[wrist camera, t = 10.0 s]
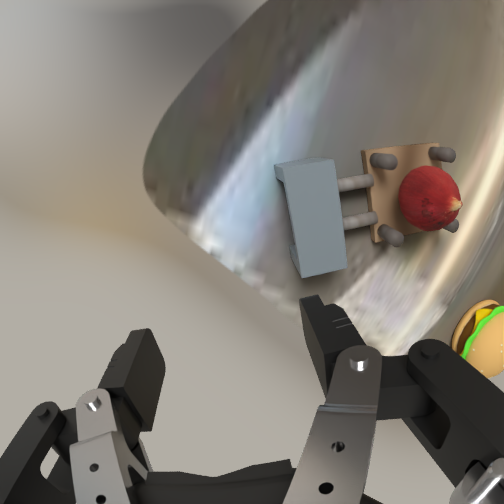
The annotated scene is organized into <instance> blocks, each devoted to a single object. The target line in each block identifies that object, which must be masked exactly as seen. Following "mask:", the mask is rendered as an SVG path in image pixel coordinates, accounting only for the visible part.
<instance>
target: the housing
mask: <svg viewBox="0 0 504 504" xmlns="http://www.w3.org/2000/svg"><path fill="white" fill-rule="evenodd" d="M274 168H275V173H276V178H278V179H279V180H281V181H282V182H283V183H284V188H285V193H286V198H287V204H288V209H289V215H290V220H291V226H292V232H293V238H294V243H295V245H291V246H289V248H290V254H291V258H292V260H293V262H294V264H295V266H296V268H297V270H298V272H299V274H300V276H301V278H306V277H310V276H315V275H319V274H323V273H328V272H332V271H336V270H340V269H344V268H347V257H346V247H345V238H344V229H343V220H342V213H341V205H340V198H339V191H338V184H337V177H336V171H335V165H334V160H333V159H326V158H319V157H315V158H309V159H303V160H297V161H292V162H286V163H281V164H276V165H274Z"/></svg>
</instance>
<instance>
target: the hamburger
mask: <svg viewBox="0 0 504 504" xmlns="http://www.w3.org/2000/svg"><path fill="white" fill-rule="evenodd" d="M452 349H453V350H454V351H455V352H456V353H458V354H459V355H460V356H461V357H462V358H464V359H465V360H466V361H467V362H468V363H470V364H471V365H472V366H473V367H474V368H476V369H477V370H478V371H479V372H480V373H482V374H483V375H484V376H485V377H486V378H491V377H493V376H496V375H498V374H499V373H501V372H502V371H503V370H504V306H500V305H499V304H498V303H497V302H496V301H494V300H484V301H481V302H479V303H477V304H475V305H474V306H472V307H471V308H470V309H469V310H468V311H467V312H466V313H465V315H464V316H463V317H462V318H461V320H460V322H459V323H458V325H457V327H456V329H455V332H454V334H453V338H452Z"/></svg>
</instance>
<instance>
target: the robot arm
mask: <svg viewBox="0 0 504 504" xmlns="http://www.w3.org/2000/svg"><path fill="white" fill-rule="evenodd" d="M299 304H300V310H301V317H302V324H303V330H304V336H305V340H306V344H307V347H308V350H309V353H310V356H311V358H312V361H313V364H314V367H315V369H316V372H317V375H318V378H319V381H320V383H321V386H322V389H323V392H324V395H325V398H326V401H325V404H324V405H320V406H319V407H318V409H317V412H316V415H315V418H314V421H313V424H312V427H311V430H310V433H309V436H308V439H307V442H306V445H305V447H304V450H303V453H302V456H301V458H300V461H299V464H298V466H297V468H292V466H291V462H290V459H287V460H282V461H276V462H270V463H264V464H258V465H252V466H249V467H246V468H243V469H240V470H237V471H234V472H231V473H228V474H225V475H221V476H218V477H208V476H202V475H195V474H189V473H184V472H153V469H152V467H151V464H150V462H149V459H148V456H147V454H146V451H145V448H144V445H143V443H142V441H141V439H140V438H139V434H140V432H145V431H146V432H147V431H152V427H153V422H154V417H155V414H156V409H157V405H158V400H159V396H160V392H161V387H162V384H163V379H164V376H165V362H164V358H163V356H162V354H161V352H160V349H159V347H158V345H157V343H156V340H155V338H154V336H153V333H152V331H151V330H150V329H148V328H146V329H140V330H134V331H131V332H130V334H129V336H128V338H127V340H126V343H125V344H122V345H121V346H120V347H119V348H118V349H117V350H116V351H115V352H114V354H113V356H112V358H111V362H109V365H108V368H107V369H106V371H105V373H104V375H103V377H102V379H101V382H100V384H99V386H98V388H97V389H93V390H90V391H88V392H86V393H85V394H83V395H82V396H81V397H80V398H79V399H78V401H77V404H76V408H72V409H68V410H64V411H61V410H60V409H59V407H58V406H57V405H56V403H54V402H44V403H42V404H40V405H38V406H37V407H36V408H35V409H34V410H33V411H32V412H31V414H30V415H29V417H28V418H27V419H26V421H25V422H24V424H23V425H22V427H21V428H20V429H19V431H18V432H17V434H16V435H15V437H14V438H13V440H12V441H11V443H10V444H9V446H8V447H7V449H6V450H5V452H4V453H3V455H2V456H1V458H0V504H76V503H77V504H382V503H381V502H379V501H377V500H375V499H373V498H371V497H369V496H367V495H365V494H364V493H363V492H364V488H365V484H366V478H367V474H368V469H369V464H370V458H371V453H372V447H373V441H374V434H375V428H376V421H377V420H387V419H399V418H402V420H403V421H404V422H405V424H406V425H407V426H408V427H409V429H410V430H411V431H412V433H413V434H414V435H415V436H416V438H417V439H418V440H419V441H420V443H421V444H422V445H423V446H424V448H425V449H426V450H427V452H428V453H429V454H430V455H431V457H432V458H433V459H434V461H435V462H436V463H437V465H438V466H439V467H440V468H441V470H442V471H443V472H444V474H445V475H446V476H447V477H448V479H449V480H450V481H451V483H452V484H453V485H454V487H455V490H454V491H453V493H452V495H451V497H450V502H449V504H504V393H503V392H502V391H501V390H500V389H499V388H498V387H497V386H495V385H494V384H493V383H492V382H491V381H490V380H488V379H487V378H486V377H485V376H484V375H483V374H482V373H480V372H479V371H478V370H477V369H476V368H474V367H473V366H472V365H471V364H470V363H468V362H467V361H466V360H465V359H464V358H462V357H461V356H460V355H459V354H458V353H456V352H455V351H454V350H453V349H451V348H450V347H449V346H448V345H447V344H445V343H444V342H442V341H439V340H435V339H425V340H421V341H418V342H416V343H414V344H413V345H412V346H411V347H410V349H409V352H408V355H401V356H382V355H381V354H380V352H379V351H378V350H377V349H375V348H373V347H370V346H366V344H365V342H364V341H363V339H362V338H361V336H360V334H359V333H358V331H357V330H356V328H355V327H354V325H353V324H352V322H351V320H350V319H349V318H348V316H347V314H346V312H345V311H344V309H343V308H341V307H339V306H337V305H336V304H330V305H326V306H324V304H323V303H322V301H321V299H320V297H319V295H313V296H309V297H305V298H301V299H299ZM51 447H52V448H53V449H54V450H55V452H56V453H57V454H58V455H59V458H58V460H57V462H56V463H55V465H54V467H53V469H52V471H51V473H50V475H49V477H48V478H47V479H45V478H44V477H43V476H42V474H41V471H40V466H41V463H42V461H43V460H44V458H45V456H46V455H47V453H48V451H49V449H50V448H51Z"/></svg>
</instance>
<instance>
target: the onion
mask: <svg viewBox="0 0 504 504" xmlns="http://www.w3.org/2000/svg"><path fill="white" fill-rule="evenodd" d="M398 199H399V204H400V209H401V212H402V213H403V215H404V217H405V218H406V220H407V221H408V222H409V223H410V224H412V225H413V226H415V227H417V228H419V229H421V230H424V231H434V230H440V229H442V228H443V227H445V226H447V225H449V224H450V223H452V222H453V221H454V219H455V218H456V216H457V215H458V212H459V209H460V208H461V207H462V205H463V204H462V202H461V197H460V193H459V189H458V187H457V185H456V183H455V182H454V180H453V179H452V177H451V176H450V175H449V174H448V173H446V172H445V171H443V170H442V169H440V168H438V167H435V166H427V165H425V166H420V167H418V168H415V169H412V170H411V171H410V172H409V173H408V174H407V175H406V176H405V177H404V179H403V180H402V183H401V185H400V187H399V194H398Z"/></svg>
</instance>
